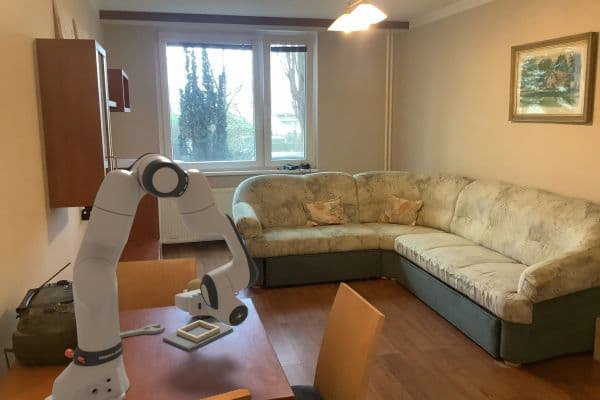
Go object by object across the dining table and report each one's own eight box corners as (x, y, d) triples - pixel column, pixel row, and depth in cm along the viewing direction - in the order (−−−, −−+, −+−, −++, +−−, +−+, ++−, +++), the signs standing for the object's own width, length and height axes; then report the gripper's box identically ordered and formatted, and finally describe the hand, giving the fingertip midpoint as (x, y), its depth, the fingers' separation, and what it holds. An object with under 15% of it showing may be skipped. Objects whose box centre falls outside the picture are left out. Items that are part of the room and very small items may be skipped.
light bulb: (204, 310, 175) (203, 282, 174) (186, 310, 175) (184, 282, 174) (208, 303, 182) (207, 276, 180) (190, 303, 182) (188, 276, 180)
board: (189, 351, 168) (189, 344, 168) (162, 340, 177) (162, 333, 176) (233, 330, 184) (232, 324, 184) (206, 320, 192) (206, 314, 192)
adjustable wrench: (89, 345, 174) (89, 340, 174) (90, 337, 180) (89, 332, 180) (164, 333, 183) (164, 328, 183) (163, 326, 189) (162, 321, 189)
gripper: (241, 284, 173) (221, 274, 184) (185, 298, 161) (167, 286, 171) (242, 302, 174) (222, 291, 185) (186, 317, 162) (168, 304, 173)
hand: (195, 289), depth 178 cm, fingers closed on light bulb, 6 cm apart
